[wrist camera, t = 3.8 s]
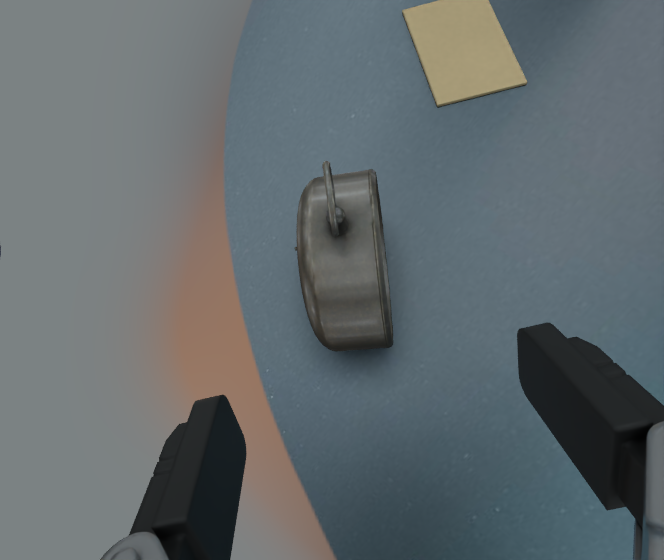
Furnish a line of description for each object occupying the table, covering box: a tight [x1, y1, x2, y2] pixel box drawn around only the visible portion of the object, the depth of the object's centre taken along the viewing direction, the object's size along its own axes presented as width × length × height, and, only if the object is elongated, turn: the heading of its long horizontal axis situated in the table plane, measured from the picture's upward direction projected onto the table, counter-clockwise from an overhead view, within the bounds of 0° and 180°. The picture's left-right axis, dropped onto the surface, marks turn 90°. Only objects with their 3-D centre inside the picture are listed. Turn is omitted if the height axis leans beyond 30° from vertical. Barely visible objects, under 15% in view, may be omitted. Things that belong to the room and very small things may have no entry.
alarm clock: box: [295, 161, 393, 351], centre depth 25 cm, size 11×5×16 cm, turn 3°
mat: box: [402, 0, 527, 107], centre depth 38 cm, size 8×12×1 cm, turn 12°
